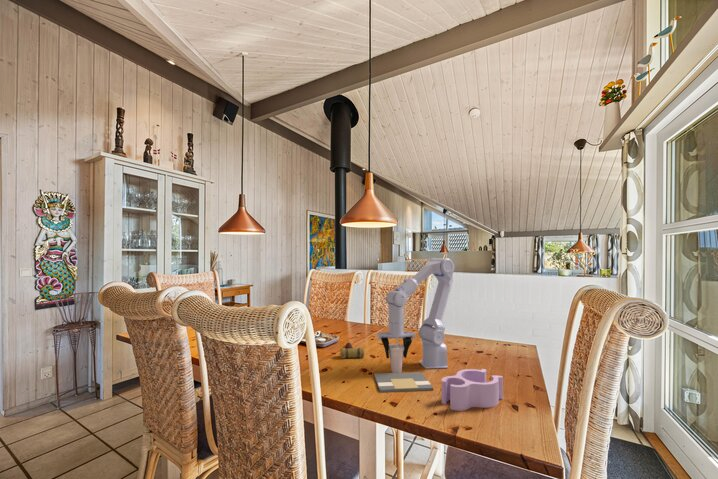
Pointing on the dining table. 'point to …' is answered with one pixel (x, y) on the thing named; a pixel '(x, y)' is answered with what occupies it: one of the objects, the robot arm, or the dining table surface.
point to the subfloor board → (402, 382)
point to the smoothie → (396, 357)
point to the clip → (471, 390)
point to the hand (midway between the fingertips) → (396, 357)
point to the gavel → (351, 352)
